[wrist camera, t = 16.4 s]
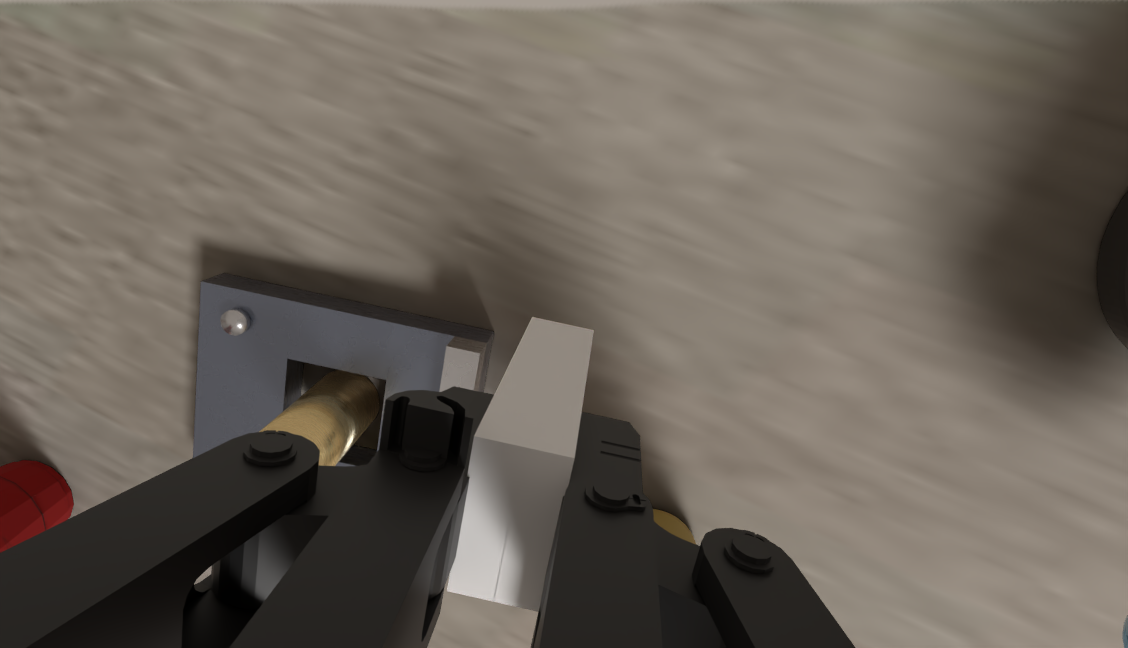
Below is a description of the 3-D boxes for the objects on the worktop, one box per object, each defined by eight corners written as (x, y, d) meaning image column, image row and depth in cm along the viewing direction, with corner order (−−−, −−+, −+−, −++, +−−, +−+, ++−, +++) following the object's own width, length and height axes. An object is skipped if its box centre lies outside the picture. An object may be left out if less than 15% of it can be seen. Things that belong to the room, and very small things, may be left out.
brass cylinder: (382, 376, 46) (326, 435, 37) (376, 435, 47) (320, 506, 38) (318, 363, 46) (247, 419, 37) (313, 422, 47) (244, 489, 39)
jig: (494, 331, 44) (480, 353, 40) (461, 518, 48) (445, 556, 44) (223, 273, 45) (180, 288, 40) (213, 463, 49) (173, 495, 44)
